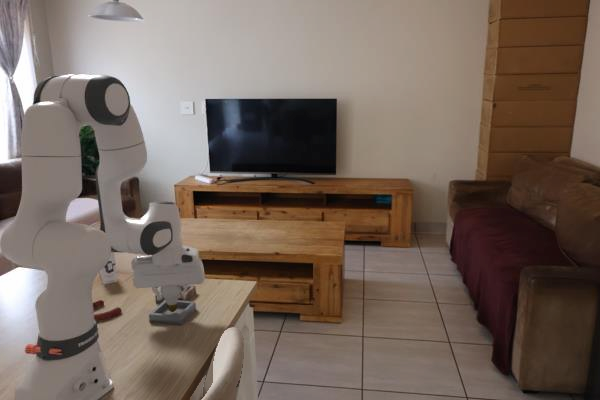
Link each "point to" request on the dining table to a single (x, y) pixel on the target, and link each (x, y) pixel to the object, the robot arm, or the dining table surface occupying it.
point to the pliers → (107, 314)
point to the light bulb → (171, 296)
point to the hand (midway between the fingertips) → (171, 298)
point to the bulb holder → (188, 294)
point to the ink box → (109, 271)
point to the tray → (172, 313)
